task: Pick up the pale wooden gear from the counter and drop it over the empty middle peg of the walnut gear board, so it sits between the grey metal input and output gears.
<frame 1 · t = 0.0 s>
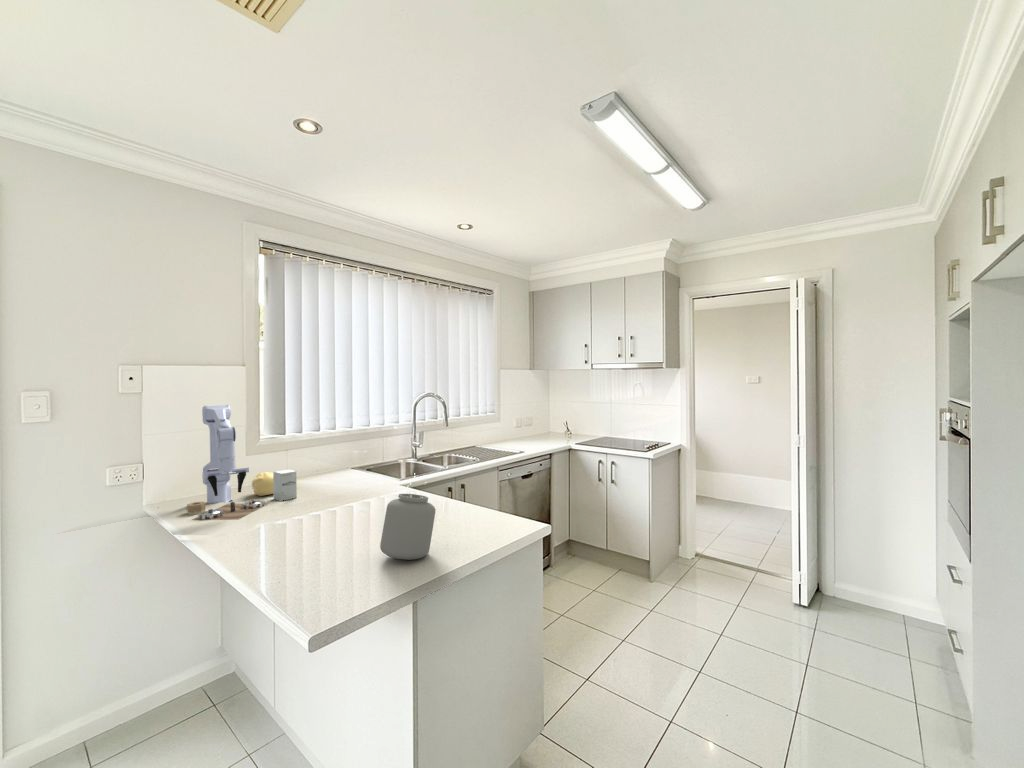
hand: (228, 494, 170), 11 cm above the table, tool pointing down, fingers open, 7 cm apart
sculpture: (266, 494, 211), on the table
gear board: (232, 514, 179), on the table
wooden gear: (196, 515, 178), on the table
jar: (411, 556, 135), on the table
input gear: (253, 506, 185), resting on gear board
output gear: (210, 516, 172), resting on gear board
supplement box: (285, 499, 203), on the table
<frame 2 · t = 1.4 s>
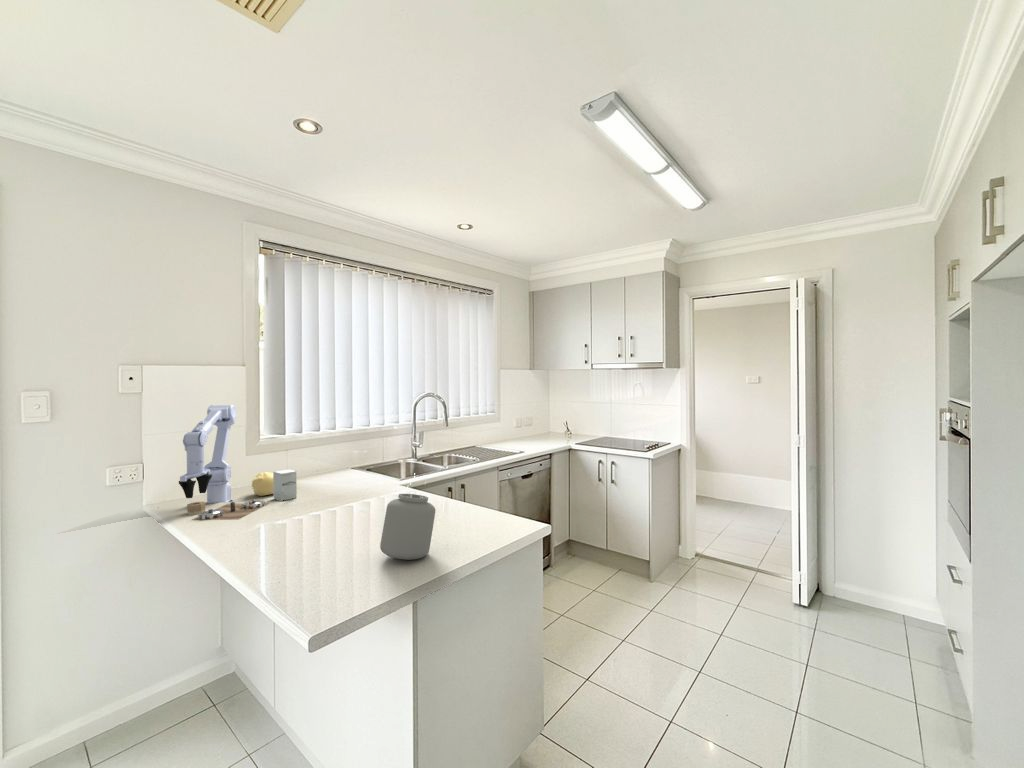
hand: (196, 495, 178), 8 cm above the table, tool pointing down, fingers open, 7 cm apart
nothing on the table moved.
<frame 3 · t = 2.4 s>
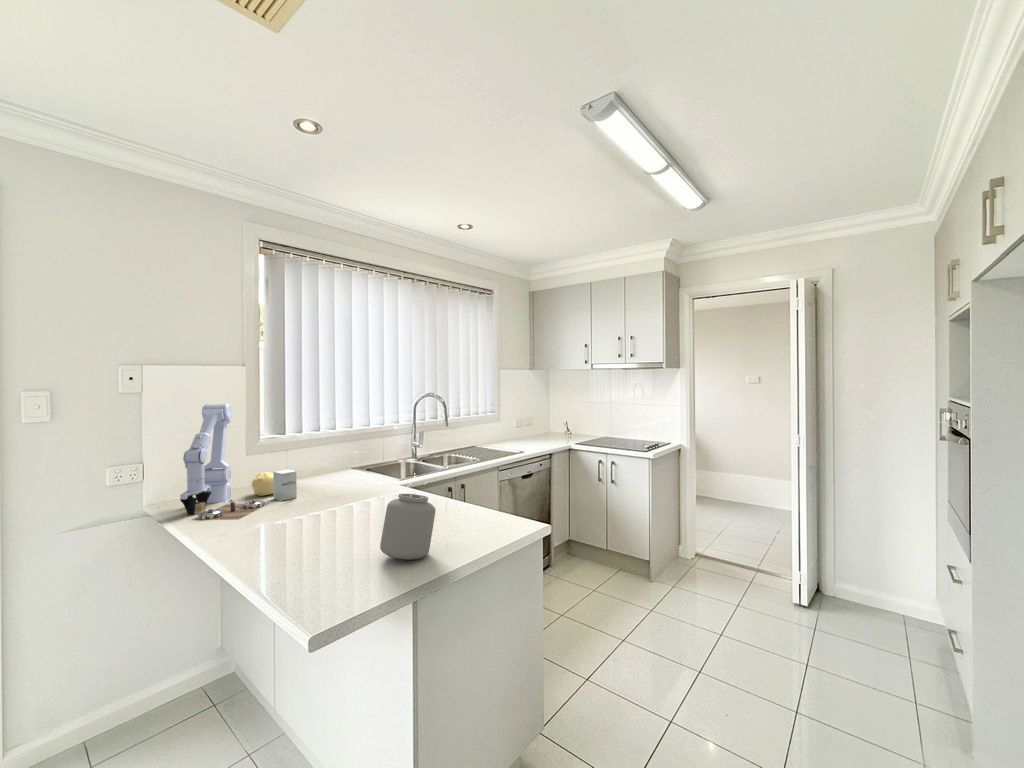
hand: (196, 512, 178), 1 cm above the table, tool pointing down, fingers closed on wooden gear, 6 cm apart
wooden gear: (196, 515, 178), on the table, touching gripper
everything else where it was.
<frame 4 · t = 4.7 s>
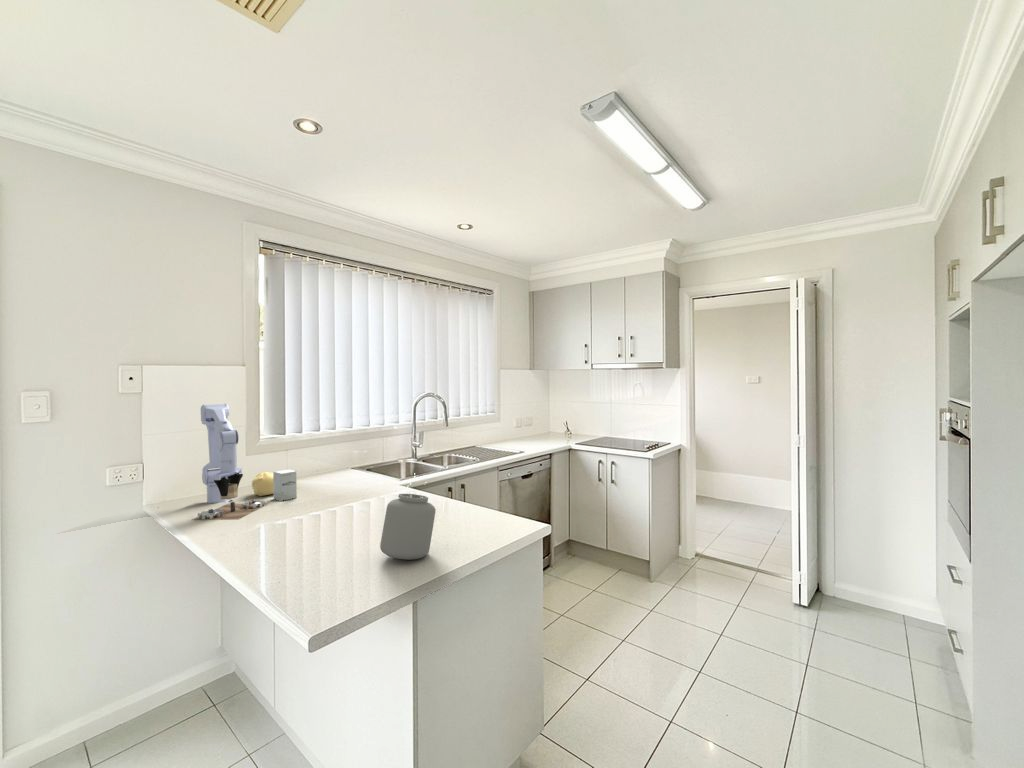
hand: (229, 494, 178), 8 cm above the table, tool pointing down, fingers closed on wooden gear, 6 cm apart
wooden gear: (229, 497, 179), point 7 cm above the table, touching gripper
everything else where it was.
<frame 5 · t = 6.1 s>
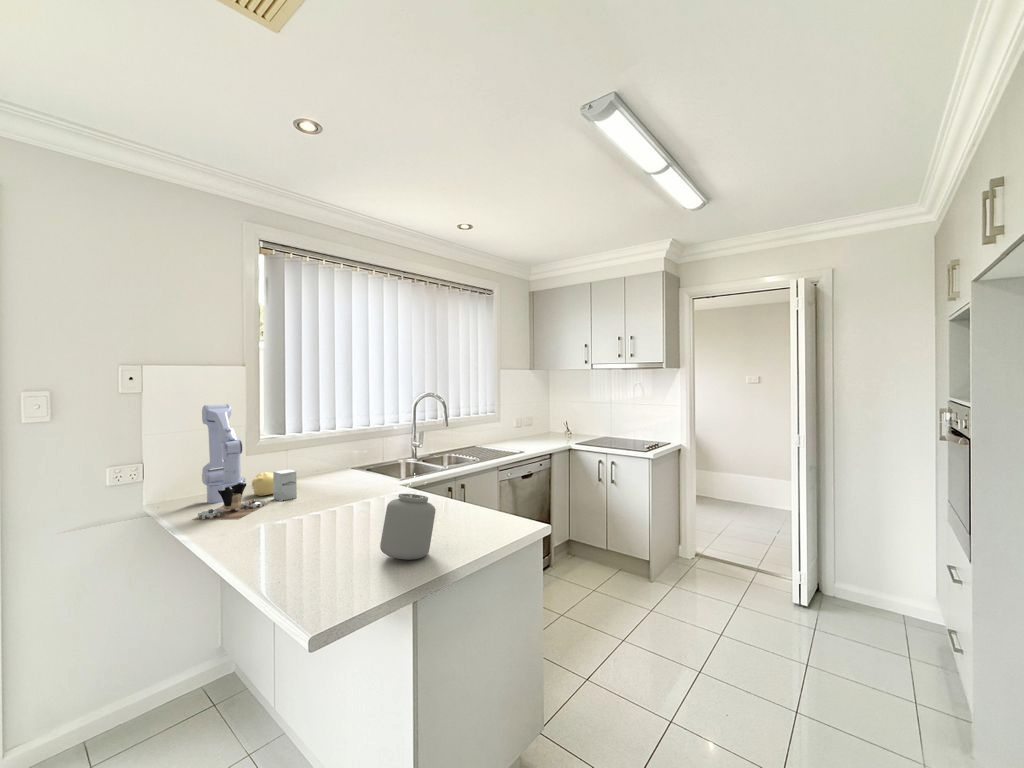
hand: (232, 503, 179), 4 cm above the table, tool pointing down, fingers closed on wooden gear, 6 cm apart
wooden gear: (232, 507, 179), point 3 cm above the table, touching gripper
everything else where it was.
when the fingers open (4 cm above the table, at t = 7.1 s): wooden gear drops 1 cm, resting on gear board.
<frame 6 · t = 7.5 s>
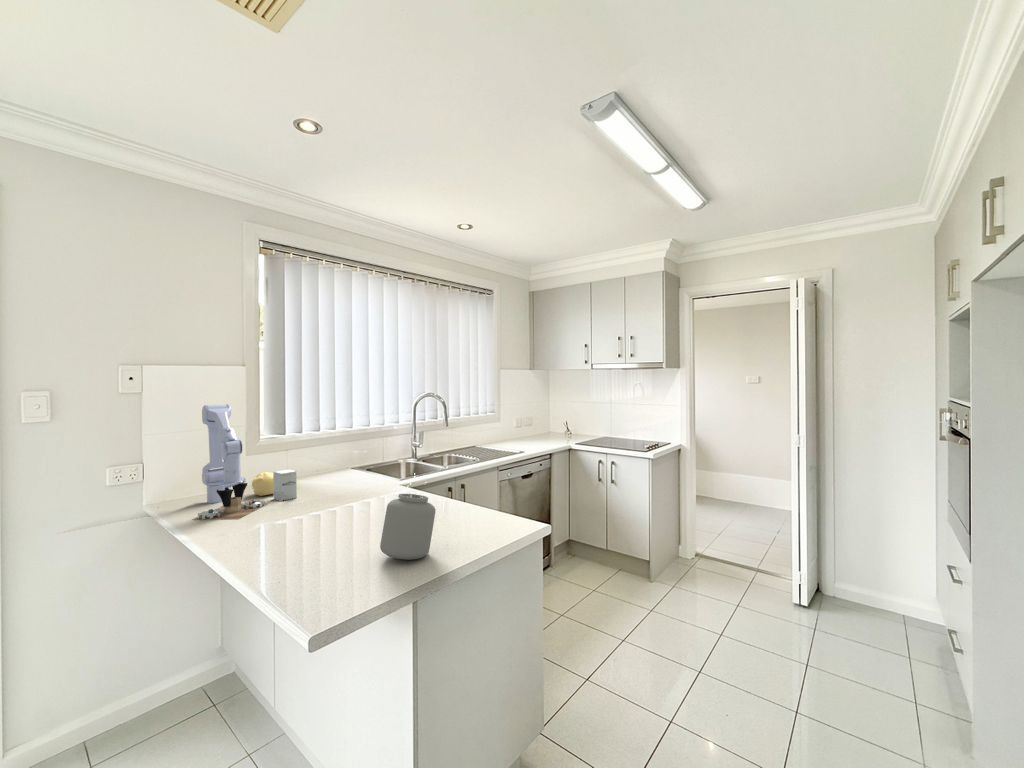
hand: (232, 503, 179), 4 cm above the table, tool pointing down, fingers open, 7 cm apart
wooden gear: (232, 511, 179), point 1 cm above the table, touching gear board
everything else where it was.
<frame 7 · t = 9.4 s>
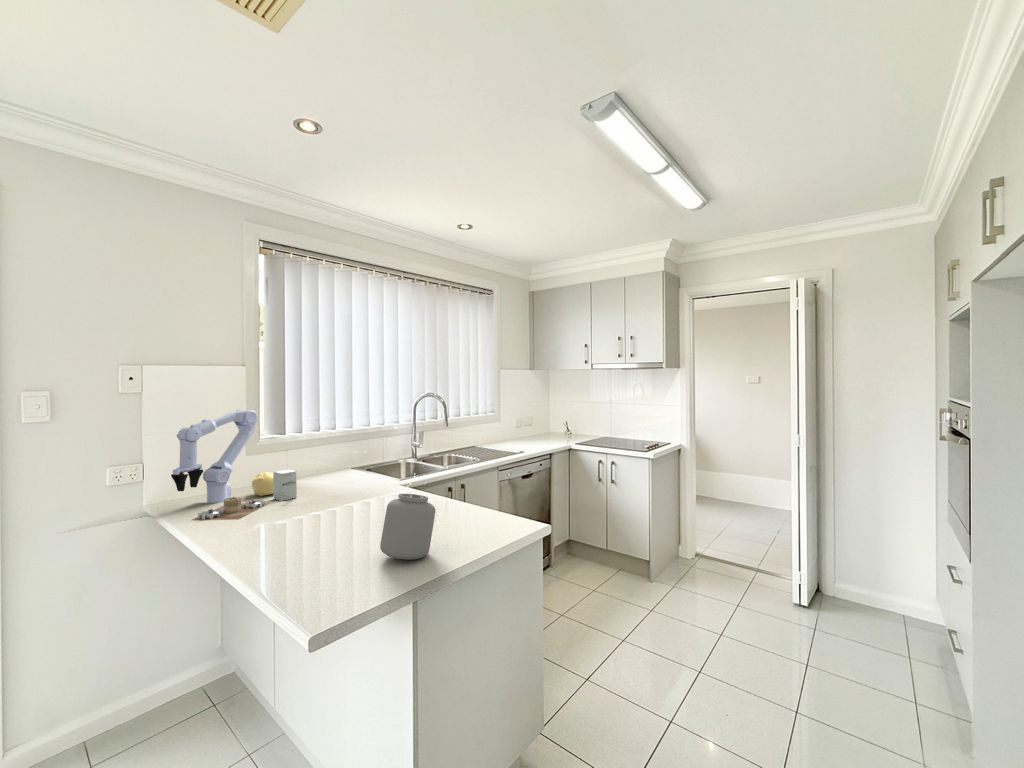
hand: (187, 489, 183), 9 cm above the table, tool pointing down, fingers open, 7 cm apart
nothing on the table moved.
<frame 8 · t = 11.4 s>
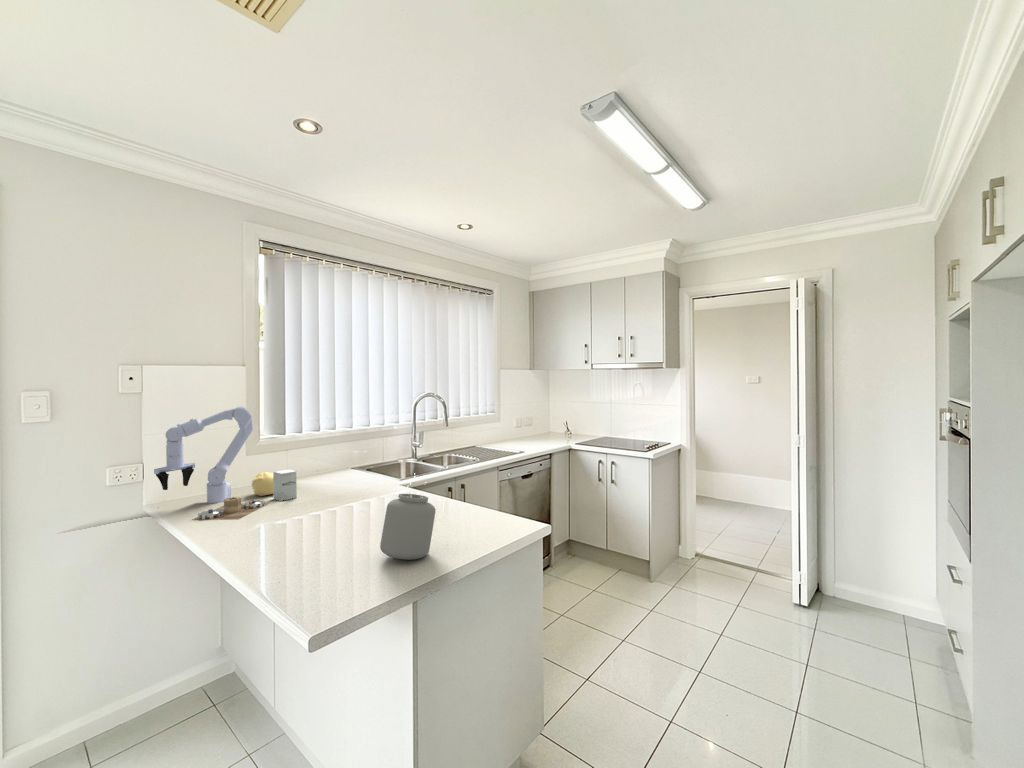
hand: (175, 487, 186), 9 cm above the table, tool pointing down, fingers open, 7 cm apart
nothing on the table moved.
at the end: wooden gear 0.0 cm off-centre on the gear board, point 1.5 cm above the gear board's base; the gripper is holding nothing; wooden gear tilted 0° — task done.
